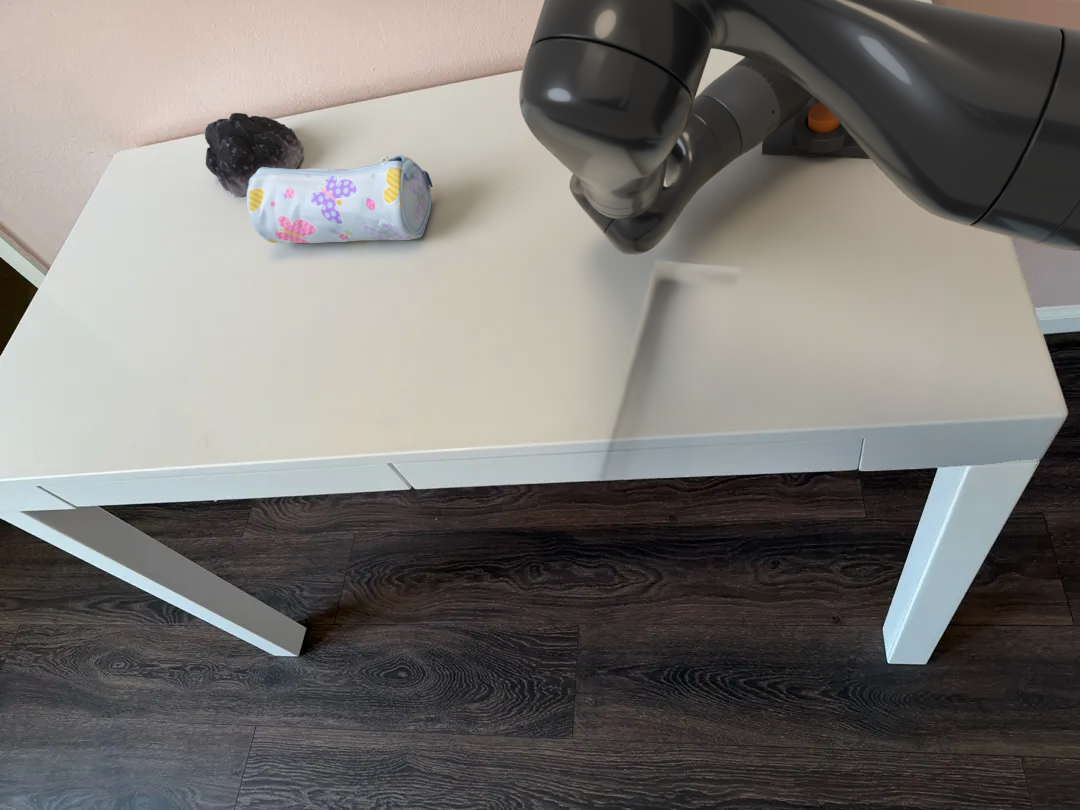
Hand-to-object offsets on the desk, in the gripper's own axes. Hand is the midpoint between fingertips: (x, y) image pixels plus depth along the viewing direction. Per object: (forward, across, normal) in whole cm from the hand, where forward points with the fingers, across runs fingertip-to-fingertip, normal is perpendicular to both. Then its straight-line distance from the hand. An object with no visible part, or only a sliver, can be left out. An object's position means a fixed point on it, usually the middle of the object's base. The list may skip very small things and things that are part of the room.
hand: (864, 14), depth 78 cm
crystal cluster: (-54, +54, +9) cm, 77 cm away
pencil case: (-51, +31, +9) cm, 60 cm away
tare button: (-9, -3, +6) cm, 11 cm away
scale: (-5, 0, +9) cm, 10 cm away
